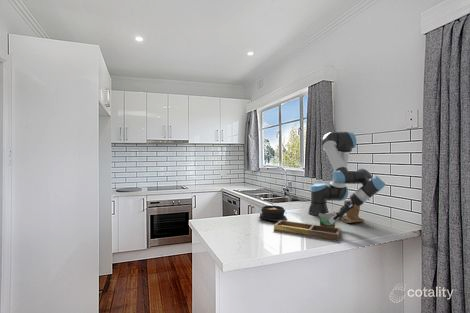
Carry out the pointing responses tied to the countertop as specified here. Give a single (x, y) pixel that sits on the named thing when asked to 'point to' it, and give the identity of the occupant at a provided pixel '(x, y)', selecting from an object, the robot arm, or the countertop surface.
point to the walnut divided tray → (308, 230)
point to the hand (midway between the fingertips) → (331, 219)
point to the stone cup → (352, 214)
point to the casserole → (273, 213)
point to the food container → (326, 219)
